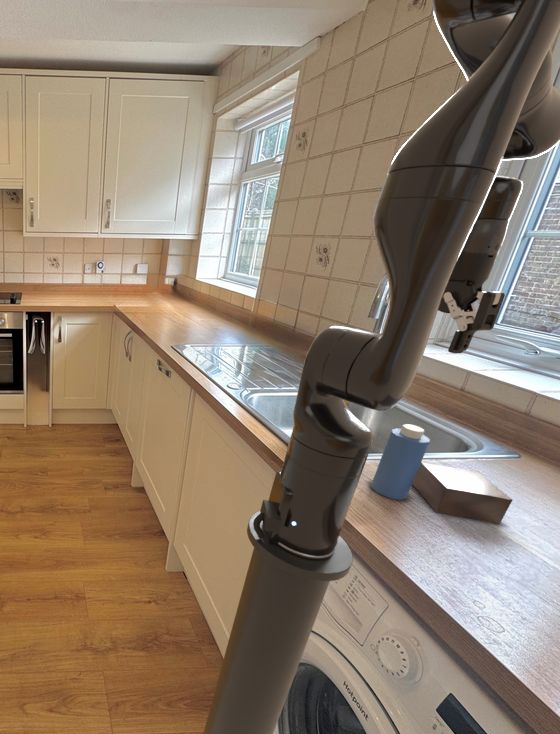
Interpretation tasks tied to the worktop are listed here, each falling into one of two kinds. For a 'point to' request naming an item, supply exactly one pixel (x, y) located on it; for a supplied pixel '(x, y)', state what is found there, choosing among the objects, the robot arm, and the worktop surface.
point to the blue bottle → (400, 461)
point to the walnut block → (461, 493)
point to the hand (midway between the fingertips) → (429, 345)
